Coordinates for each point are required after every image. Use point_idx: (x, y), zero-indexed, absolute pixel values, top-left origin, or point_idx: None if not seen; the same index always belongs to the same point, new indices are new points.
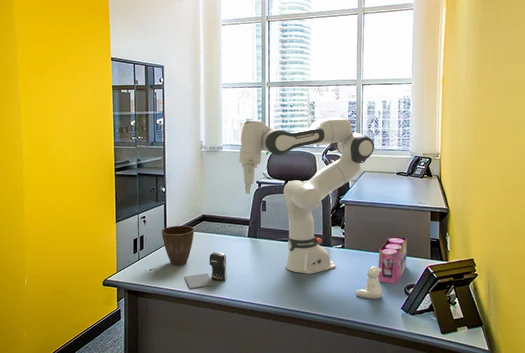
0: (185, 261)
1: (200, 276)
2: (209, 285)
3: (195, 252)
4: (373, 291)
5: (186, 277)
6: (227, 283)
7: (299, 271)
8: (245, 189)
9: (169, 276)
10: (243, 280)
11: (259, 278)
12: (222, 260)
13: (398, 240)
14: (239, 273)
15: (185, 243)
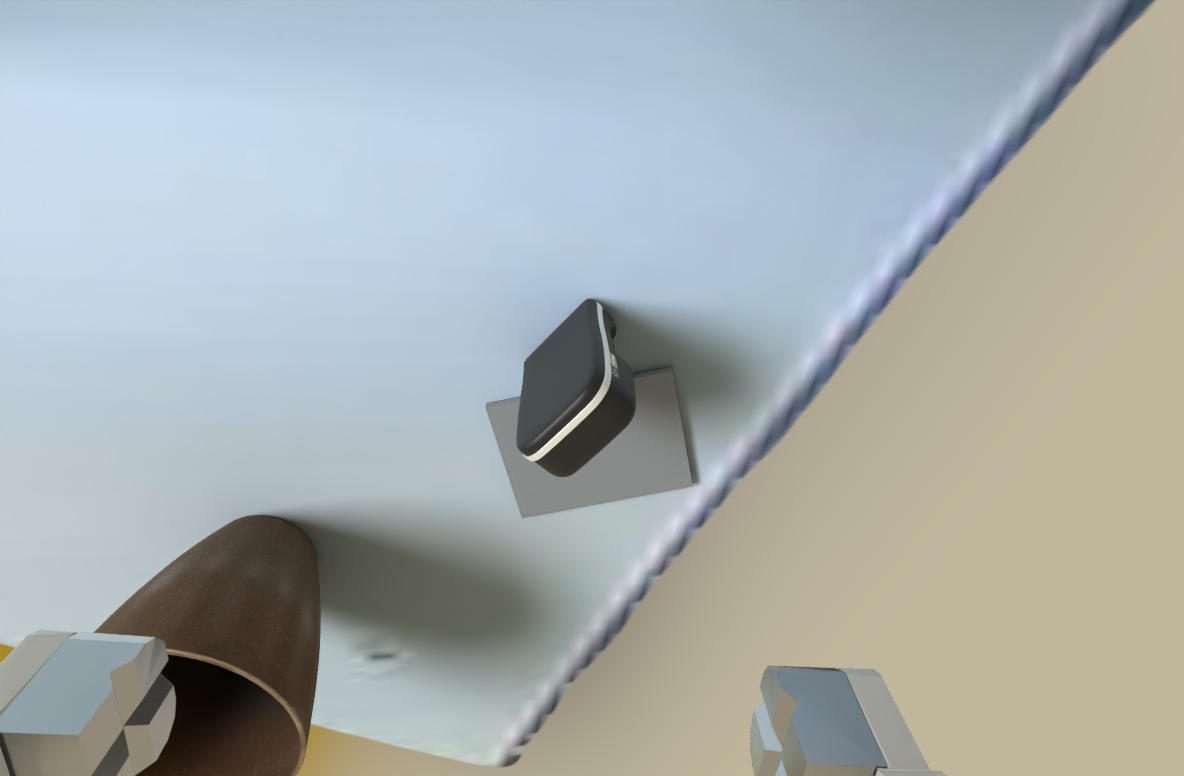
0: (288, 530)
1: None
2: (676, 394)
3: (47, 476)
4: None
5: (538, 508)
6: (654, 291)
7: None
8: (170, 723)
9: (490, 576)
10: (625, 185)
11: (609, 57)
12: (627, 386)
13: None
14: (486, 202)
15: (287, 626)
